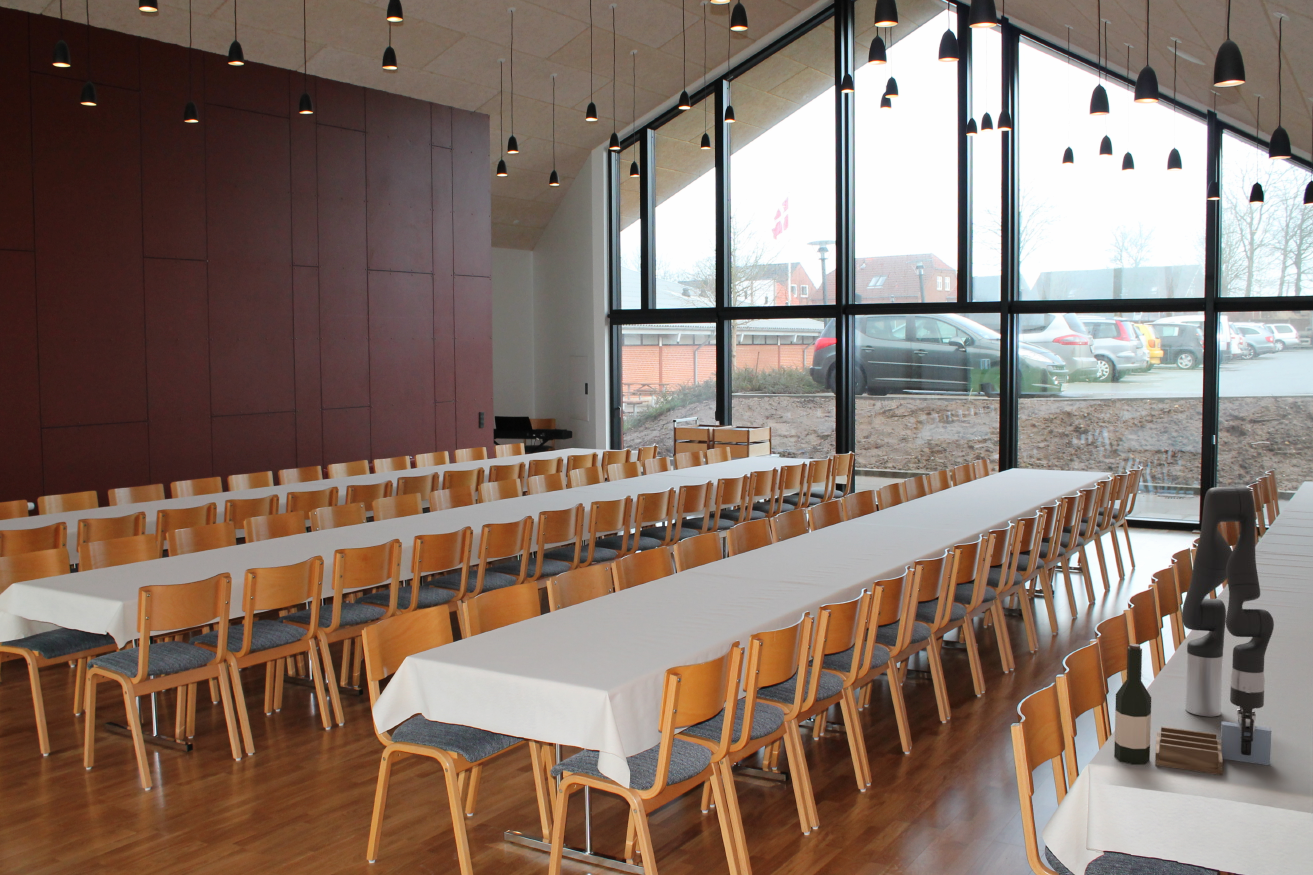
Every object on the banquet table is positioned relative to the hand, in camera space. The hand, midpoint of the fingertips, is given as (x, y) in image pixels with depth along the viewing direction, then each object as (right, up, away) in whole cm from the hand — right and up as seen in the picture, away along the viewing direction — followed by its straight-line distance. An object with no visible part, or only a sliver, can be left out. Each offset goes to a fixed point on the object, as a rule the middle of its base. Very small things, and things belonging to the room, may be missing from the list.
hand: (1245, 749), depth 269 cm
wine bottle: (-28, -3, +2) cm, 28 cm away
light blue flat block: (0, -3, 0) cm, 3 cm away
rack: (-14, -3, +2) cm, 14 cm away
